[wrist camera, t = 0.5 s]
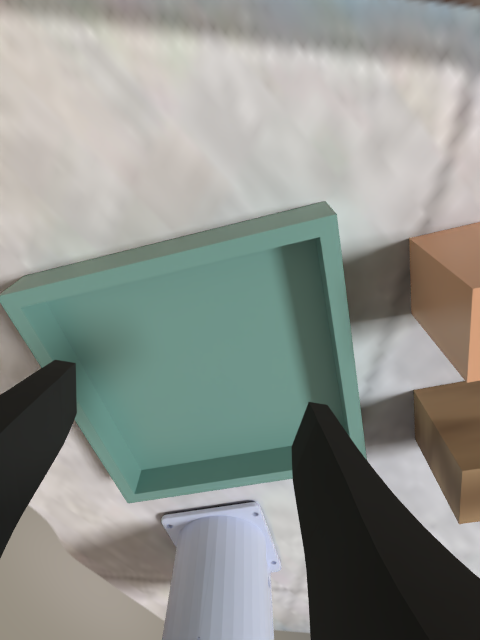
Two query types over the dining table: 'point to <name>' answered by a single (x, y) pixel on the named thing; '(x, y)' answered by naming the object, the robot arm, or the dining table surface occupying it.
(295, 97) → the dining table surface
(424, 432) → the walnut block
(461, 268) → the terracotta block
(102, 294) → the tray
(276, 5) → the dining table surface
